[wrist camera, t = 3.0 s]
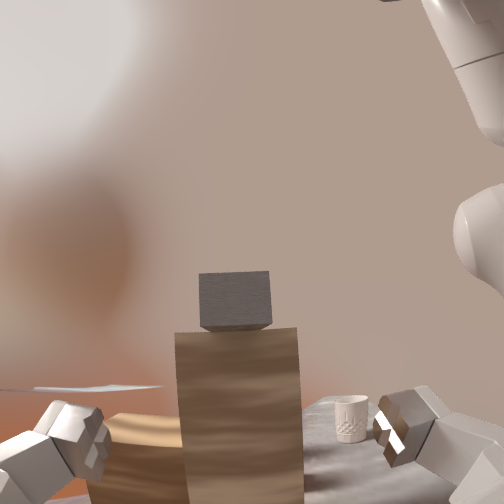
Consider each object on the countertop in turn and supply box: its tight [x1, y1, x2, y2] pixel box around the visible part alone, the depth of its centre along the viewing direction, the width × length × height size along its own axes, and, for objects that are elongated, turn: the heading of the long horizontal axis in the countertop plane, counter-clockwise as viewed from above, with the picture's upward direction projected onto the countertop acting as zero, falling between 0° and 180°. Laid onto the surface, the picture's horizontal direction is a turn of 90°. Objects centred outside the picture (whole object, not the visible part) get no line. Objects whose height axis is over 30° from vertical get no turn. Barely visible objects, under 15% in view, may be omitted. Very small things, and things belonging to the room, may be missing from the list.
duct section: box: [199, 271, 272, 332], centre depth 27 cm, size 20×4×3 cm, turn 3°
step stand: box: [86, 328, 304, 504], centre depth 26 cm, size 12×20×26 cm, turn 93°
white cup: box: [334, 395, 368, 443], centre depth 58 cm, size 8×8×10 cm
